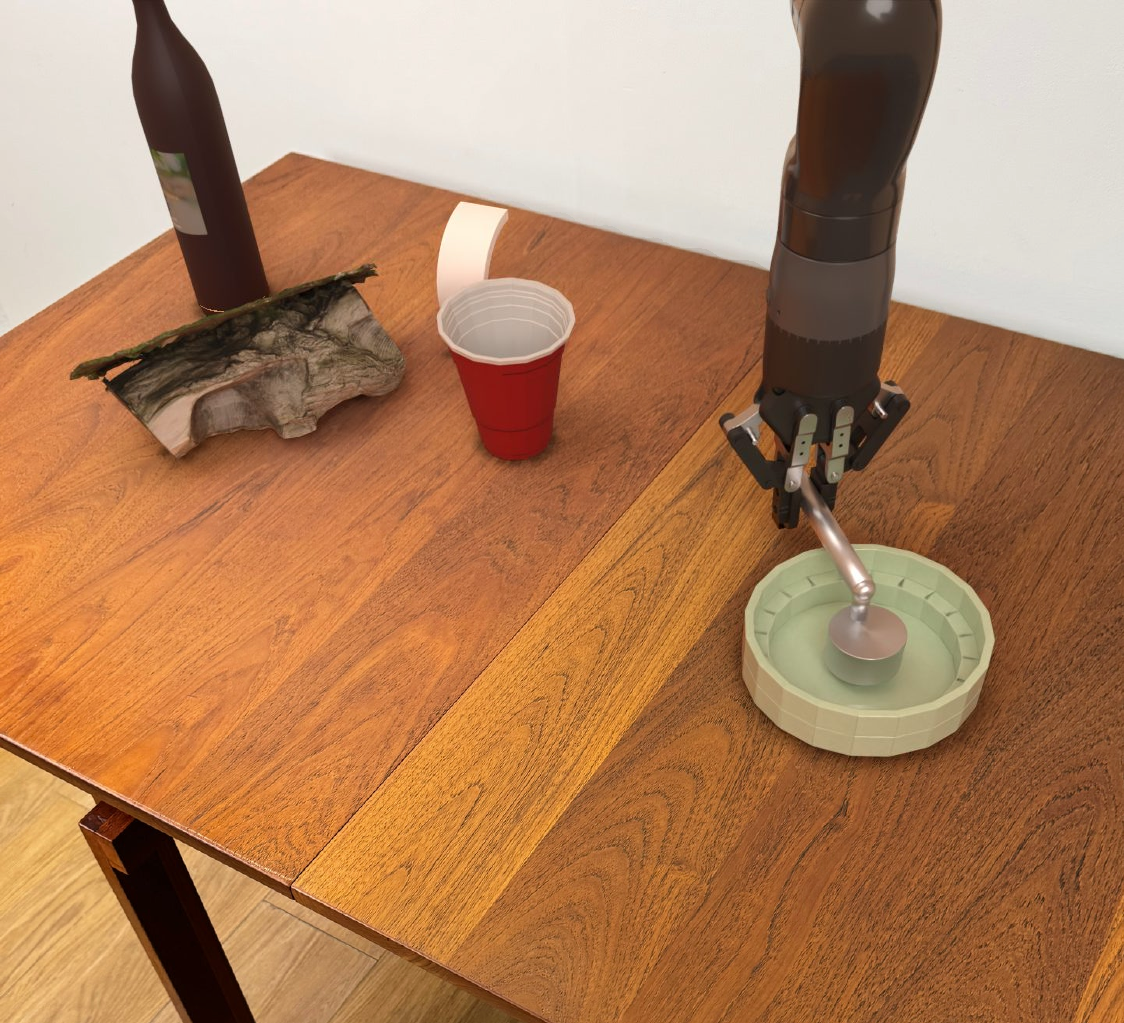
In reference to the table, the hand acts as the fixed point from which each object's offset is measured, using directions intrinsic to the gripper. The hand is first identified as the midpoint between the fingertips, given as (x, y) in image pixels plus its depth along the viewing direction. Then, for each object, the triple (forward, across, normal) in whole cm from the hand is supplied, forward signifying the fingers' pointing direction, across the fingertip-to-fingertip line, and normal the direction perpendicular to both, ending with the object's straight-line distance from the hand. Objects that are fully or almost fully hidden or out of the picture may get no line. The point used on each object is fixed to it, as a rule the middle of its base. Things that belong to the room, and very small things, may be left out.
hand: (802, 518), depth 89 cm
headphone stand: (+4, -17, +36) cm, 40 cm away
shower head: (+3, 0, -5) cm, 6 cm away
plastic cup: (+4, -17, +21) cm, 27 cm away
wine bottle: (+4, -39, +52) cm, 65 cm away
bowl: (+4, 0, -12) cm, 13 cm away
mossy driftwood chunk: (+4, -38, +32) cm, 50 cm away
